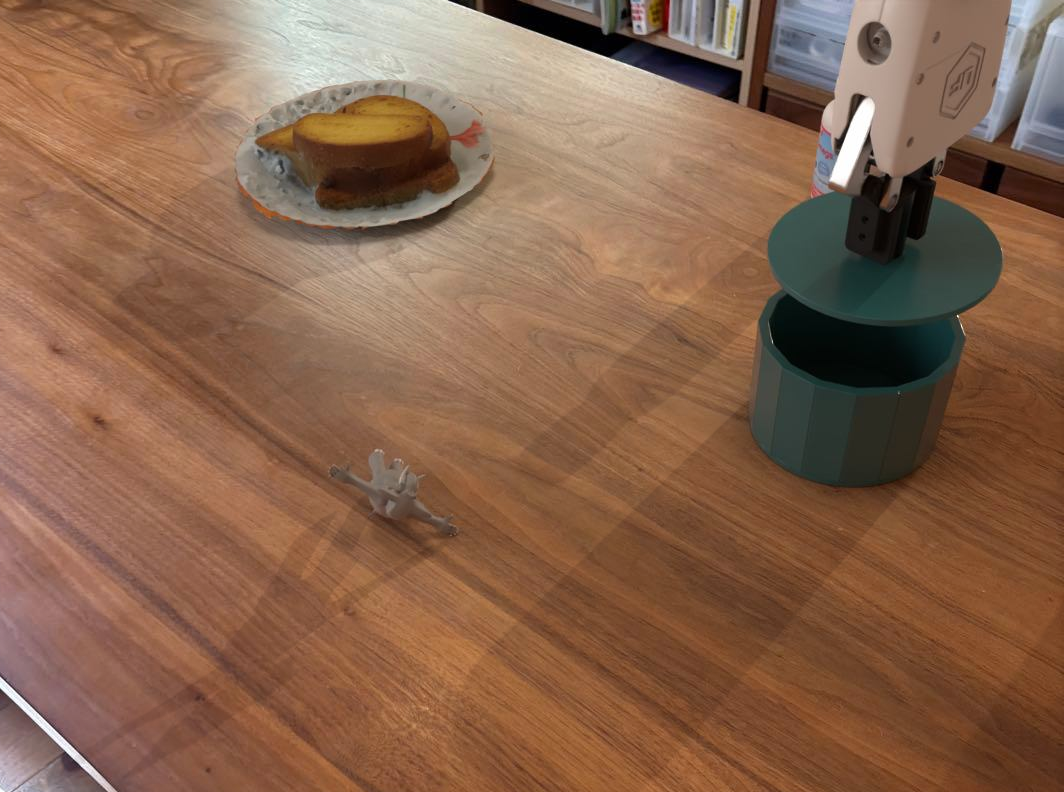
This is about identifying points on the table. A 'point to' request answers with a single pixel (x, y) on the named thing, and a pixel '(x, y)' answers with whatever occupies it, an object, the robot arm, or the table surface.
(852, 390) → the pot
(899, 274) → the lid
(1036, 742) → the table surface
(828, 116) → the pill bottle
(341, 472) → the grey monster figurine
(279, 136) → the food on plate
